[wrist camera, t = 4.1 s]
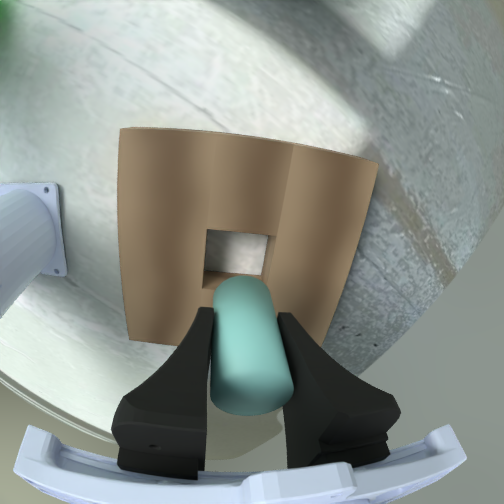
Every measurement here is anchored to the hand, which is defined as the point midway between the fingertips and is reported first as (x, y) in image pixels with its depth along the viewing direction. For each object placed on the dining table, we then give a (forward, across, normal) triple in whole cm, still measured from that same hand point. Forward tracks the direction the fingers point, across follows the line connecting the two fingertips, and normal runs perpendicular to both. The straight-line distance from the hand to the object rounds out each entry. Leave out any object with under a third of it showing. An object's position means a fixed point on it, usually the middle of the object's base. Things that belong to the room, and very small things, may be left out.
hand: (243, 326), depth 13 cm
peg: (+2, 0, 0) cm, 2 cm away
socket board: (+9, 0, 0) cm, 9 cm away
